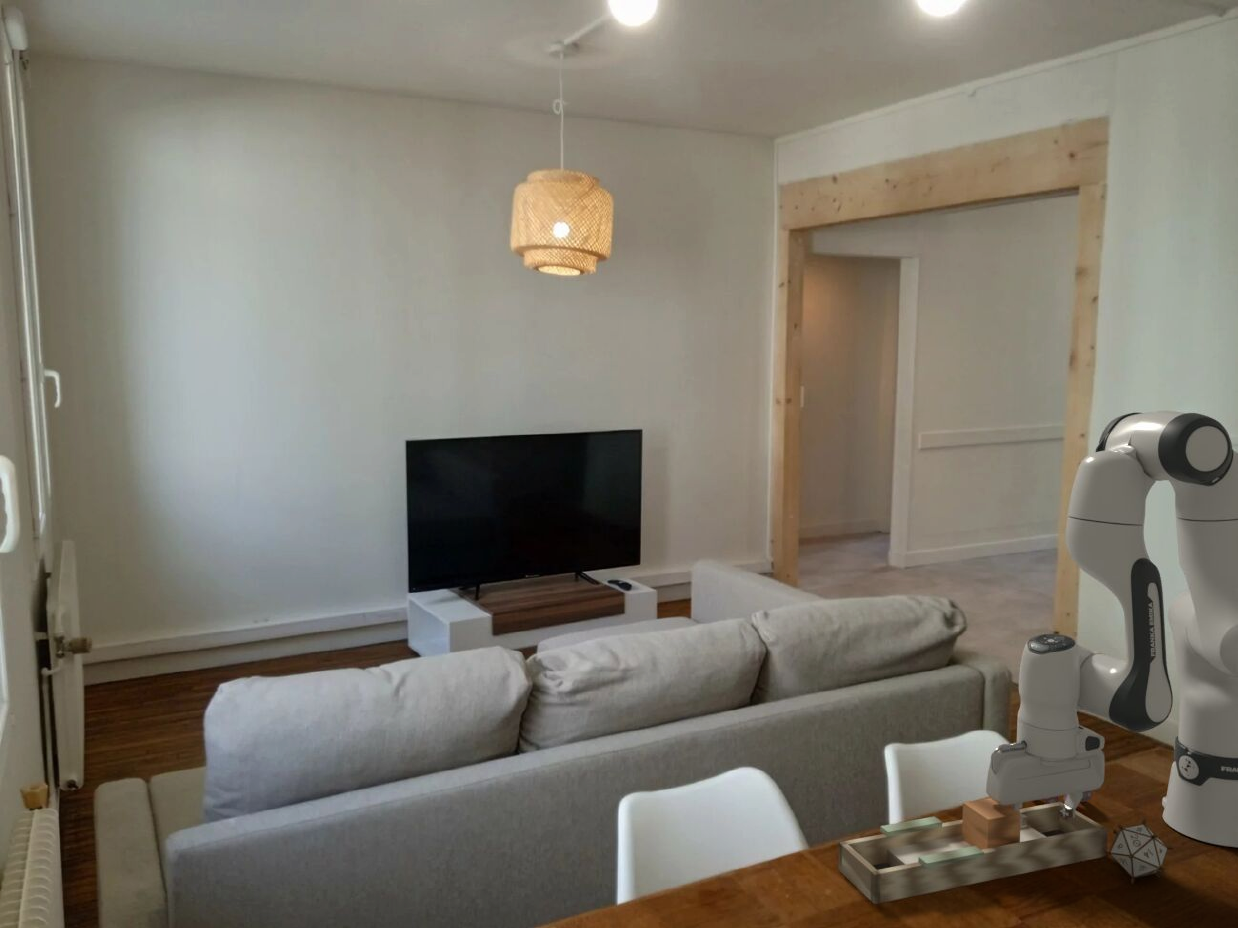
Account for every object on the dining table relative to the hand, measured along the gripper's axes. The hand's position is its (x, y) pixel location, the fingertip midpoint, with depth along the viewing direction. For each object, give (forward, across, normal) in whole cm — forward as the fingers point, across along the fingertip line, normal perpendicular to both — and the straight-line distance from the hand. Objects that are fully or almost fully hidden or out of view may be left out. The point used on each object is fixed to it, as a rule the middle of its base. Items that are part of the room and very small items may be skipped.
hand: (1043, 821), depth 155 cm
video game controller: (+5, +14, +12) cm, 19 cm away
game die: (+5, +8, -11) cm, 14 cm away
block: (+2, -10, 0) cm, 10 cm away
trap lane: (+5, -13, 0) cm, 14 cm away
